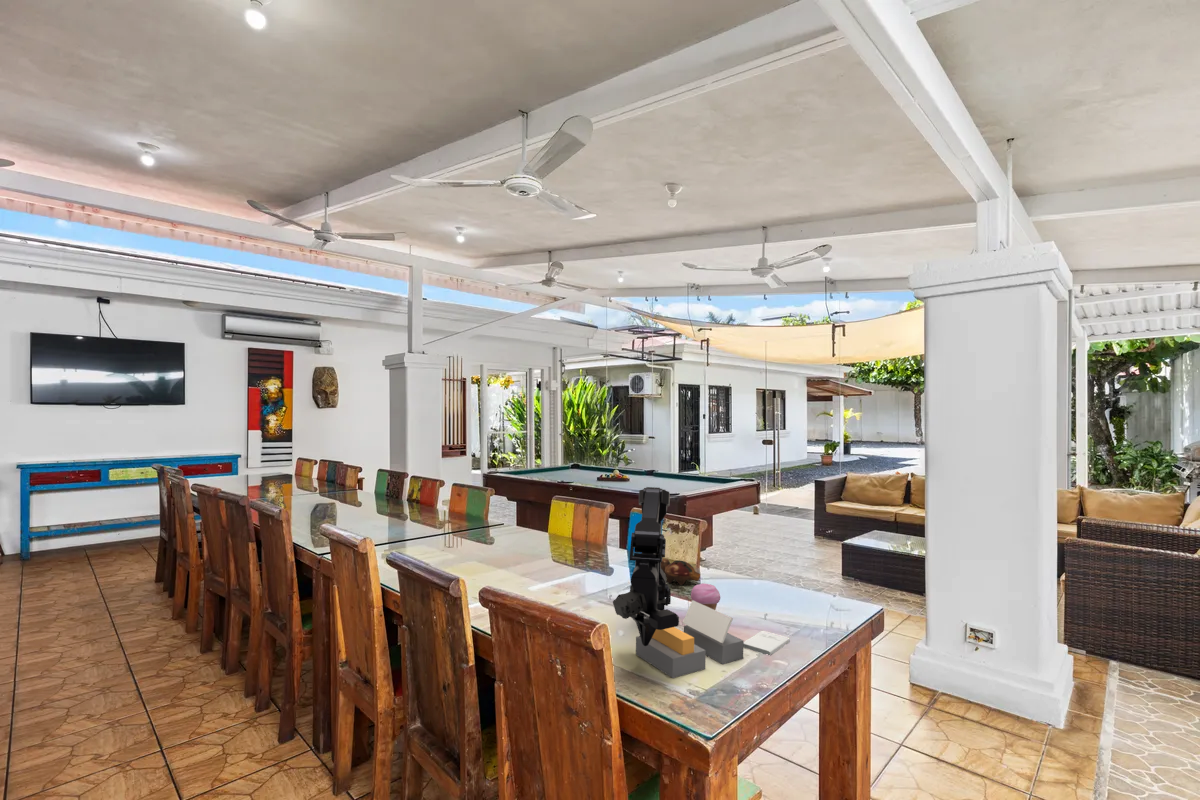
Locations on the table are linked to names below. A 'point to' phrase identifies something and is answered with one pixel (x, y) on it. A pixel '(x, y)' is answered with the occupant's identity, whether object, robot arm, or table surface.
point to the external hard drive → (766, 642)
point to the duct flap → (707, 621)
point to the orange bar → (675, 640)
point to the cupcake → (706, 595)
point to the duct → (691, 662)
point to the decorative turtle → (679, 571)
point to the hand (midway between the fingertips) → (645, 645)
